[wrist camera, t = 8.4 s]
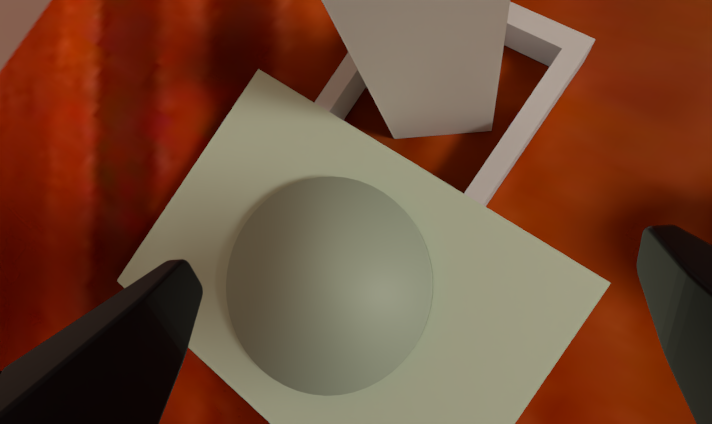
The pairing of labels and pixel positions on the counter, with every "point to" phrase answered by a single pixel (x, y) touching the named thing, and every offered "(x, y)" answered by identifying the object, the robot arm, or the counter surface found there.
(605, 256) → the counter surface
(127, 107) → the counter surface
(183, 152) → the counter surface
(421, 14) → the grey tall block
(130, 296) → the robot arm
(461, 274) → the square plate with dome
